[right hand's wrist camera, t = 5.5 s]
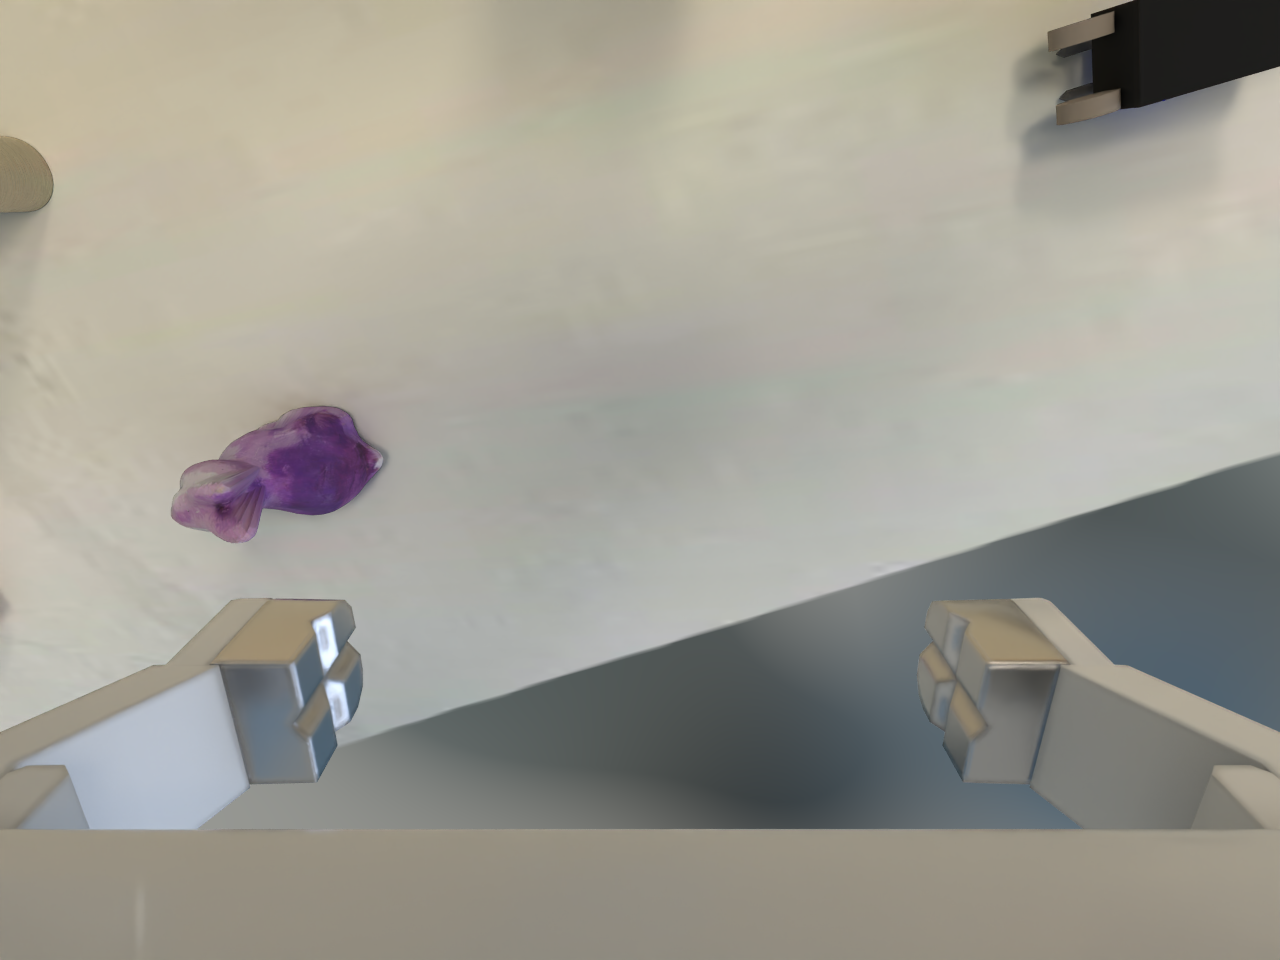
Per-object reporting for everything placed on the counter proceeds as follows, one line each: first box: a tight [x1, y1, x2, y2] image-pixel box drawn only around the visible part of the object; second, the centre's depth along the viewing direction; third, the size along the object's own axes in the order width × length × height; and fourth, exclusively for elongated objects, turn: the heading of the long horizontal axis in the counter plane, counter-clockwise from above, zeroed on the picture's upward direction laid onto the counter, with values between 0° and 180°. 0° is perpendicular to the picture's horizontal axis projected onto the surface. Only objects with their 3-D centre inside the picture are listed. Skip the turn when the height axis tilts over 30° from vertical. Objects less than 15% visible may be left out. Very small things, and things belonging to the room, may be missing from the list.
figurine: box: [171, 406, 383, 543], centre depth 53 cm, size 9×10×15 cm
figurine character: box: [1048, 0, 1280, 125], centre depth 46 cm, size 7×8×15 cm
